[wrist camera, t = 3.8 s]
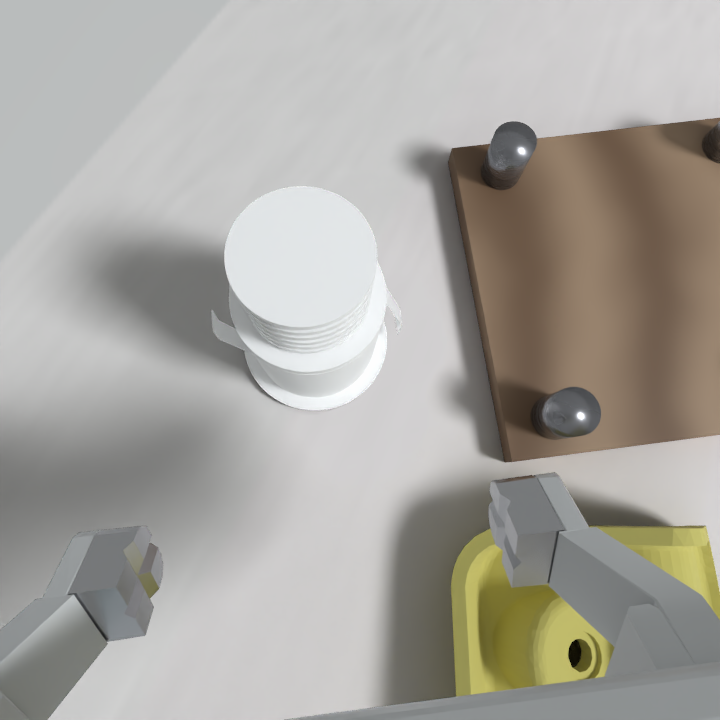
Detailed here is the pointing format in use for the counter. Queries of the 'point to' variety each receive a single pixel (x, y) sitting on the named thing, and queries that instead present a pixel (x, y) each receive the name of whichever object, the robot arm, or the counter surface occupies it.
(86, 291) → the counter surface
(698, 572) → the plastic component
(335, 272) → the recessed downlight
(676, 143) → the pin board
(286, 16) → the counter surface
